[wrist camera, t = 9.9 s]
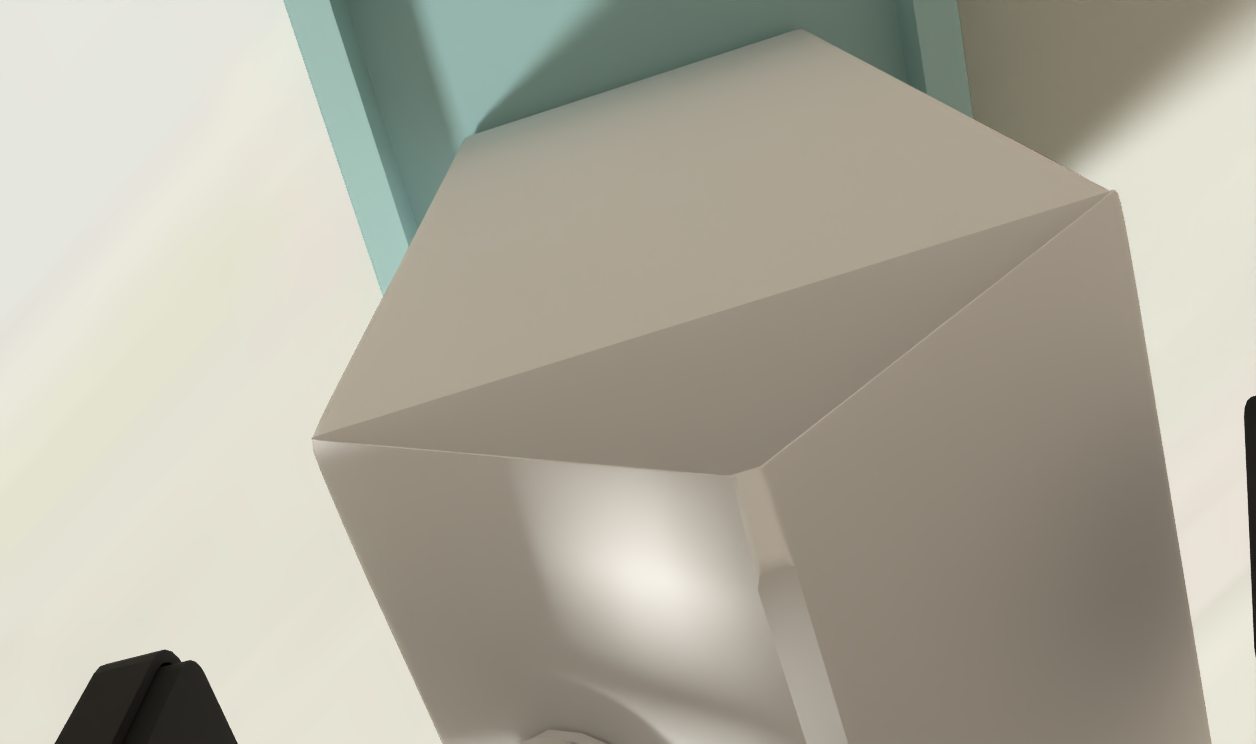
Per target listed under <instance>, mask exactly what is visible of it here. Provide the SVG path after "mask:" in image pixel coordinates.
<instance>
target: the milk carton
mask: <svg viewBox="0 0 1256 744" xmlns="http://www.w3.org/2000/svg"><path fill="white" fill-rule="evenodd" d="M312 442H313V451H314V455H315V457H316V460H317V462H318V465H319V467H320V470H321V472H322V475H323V478H324V480H325V482H326V485H327V487H328V489H329V492H330V494H331V496H332V499H333V501H334V504H335V506H336V508H337V511H338V513H339V515H340V518H341V520H342V522H343V525H344V527H345V529H346V531H347V534H348V536H349V538H350V541H351V543H352V545H353V547H354V550H355V552H356V554H357V556H358V559H359V561H360V563H361V566H362V568H363V570H364V572H365V575H366V577H367V579H368V581H369V584H370V586H371V588H372V590H373V592H374V594H375V597H376V599H377V601H378V603H379V605H380V607H381V610H382V612H383V614H384V616H385V618H386V621H387V623H388V625H389V627H390V629H391V631H392V634H393V636H394V638H395V640H396V642H397V645H398V647H399V649H400V651H401V653H402V655H403V658H404V660H405V662H406V664H407V666H408V669H409V671H410V673H411V675H412V677H413V680H414V682H415V684H416V686H417V688H418V690H419V693H420V695H421V697H422V699H423V701H424V704H425V706H426V708H427V710H428V712H429V715H430V717H431V719H432V721H433V723H434V726H435V728H436V730H437V732H438V734H439V737H440V739H441V741H442V743H443V744H1211V738H1210V732H1209V725H1208V719H1207V713H1206V707H1205V701H1204V695H1203V689H1202V683H1201V677H1200V671H1199V665H1198V659H1197V653H1196V646H1195V640H1194V634H1193V628H1192V622H1191V616H1190V610H1189V604H1188V598H1187V592H1186V586H1185V580H1184V574H1183V567H1182V561H1181V555H1180V549H1179V543H1178V537H1177V531H1176V525H1175V519H1174V513H1173V507H1172V501H1171V495H1170V488H1169V482H1168V476H1167V470H1166V464H1165V458H1164V452H1163V446H1162V440H1161V434H1160V428H1159V422H1158V416H1157V409H1156V403H1155V397H1154V391H1153V385H1152V379H1151V373H1150V367H1149V361H1148V355H1147V349H1146V343H1145V337H1144V330H1143V324H1142V318H1141V312H1140V306H1139V300H1138V294H1137V288H1136V283H1135V277H1134V271H1133V265H1132V259H1131V254H1130V248H1129V243H1128V237H1127V232H1126V226H1125V221H1124V217H1123V212H1122V207H1121V202H1120V199H1119V196H1118V194H1117V192H1116V191H1115V190H1111V191H1109V190H1107V189H1105V188H1103V187H1101V186H1100V185H1098V184H1096V183H1094V182H1092V181H1090V180H1088V179H1086V178H1084V177H1082V176H1081V175H1079V174H1077V173H1075V172H1073V171H1071V170H1069V169H1067V168H1065V167H1063V166H1062V165H1060V164H1058V163H1056V162H1054V161H1052V160H1050V159H1048V158H1046V157H1044V156H1043V155H1041V154H1039V153H1037V152H1035V151H1033V150H1031V149H1029V148H1027V147H1025V146H1024V145H1022V144H1020V143H1018V142H1016V141H1014V140H1012V139H1010V138H1008V137H1006V136H1005V135H1003V134H1001V133H999V132H997V131H995V130H993V129H991V128H989V127H987V126H986V125H984V124H982V123H980V122H978V121H976V120H974V119H972V118H970V117H969V116H967V115H965V114H963V113H961V112H959V111H957V110H955V109H953V108H951V107H950V106H948V105H946V104H944V103H942V102H940V101H938V100H936V99H934V98H932V97H931V96H929V95H927V94H925V93H923V92H921V91H919V90H917V89H915V88H913V87H912V86H910V85H908V84H906V83H904V82H902V81H900V80H898V79H896V78H894V77H893V76H891V75H889V74H887V73H885V72H883V71H881V70H879V69H877V68H875V67H874V66H872V65H870V64H868V63H866V62H864V61H862V60H860V59H858V58H856V57H855V56H853V55H851V54H849V53H847V52H845V51H843V50H841V49H839V48H837V47H836V46H834V45H832V44H830V43H828V42H826V41H824V40H822V39H820V38H819V37H817V36H815V35H813V34H811V33H809V32H807V31H805V30H803V29H797V30H793V31H790V32H787V33H784V34H781V35H778V36H775V37H772V38H769V39H766V40H763V41H760V42H756V43H753V44H750V45H747V46H744V47H741V48H738V49H735V50H732V51H729V52H726V53H723V54H720V55H717V56H713V57H710V58H707V59H704V60H701V61H698V62H695V63H692V64H689V65H686V66H683V67H680V68H677V69H673V70H670V71H667V72H664V73H661V74H658V75H655V76H652V77H649V78H646V79H643V80H640V81H637V82H633V83H630V84H627V85H624V86H621V87H618V88H615V89H612V90H609V91H606V92H603V93H600V94H597V95H594V96H590V97H587V98H584V99H581V100H578V101H575V102H572V103H569V104H566V105H563V106H560V107H557V108H554V109H550V110H547V111H544V112H541V113H538V114H535V115H532V116H529V117H526V118H523V119H520V120H517V121H514V122H511V123H507V124H504V125H501V126H498V127H495V128H492V129H489V130H486V131H483V132H480V133H477V134H474V135H471V136H468V137H467V138H465V139H464V141H463V143H462V145H461V147H460V149H459V151H458V152H457V154H456V156H455V158H454V160H453V162H452V164H451V166H450V168H449V170H448V172H447V174H446V176H445V178H444V180H443V182H442V184H441V185H440V187H439V189H438V191H437V193H436V195H435V197H434V199H433V201H432V203H431V205H430V207H429V209H428V211H427V213H426V215H425V216H424V218H423V220H422V222H421V224H420V226H419V228H418V230H417V232H416V234H415V236H414V238H413V240H412V242H411V244H410V246H409V247H408V249H407V251H406V253H405V255H404V257H403V259H402V261H401V263H400V265H399V267H398V269H397V271H396V273H395V275H394V277H393V278H392V280H391V282H390V284H389V286H388V288H387V290H386V292H385V294H384V296H383V298H382V300H381V302H380V304H379V306H378V308H377V310H376V311H375V313H374V315H373V317H372V319H371V321H370V323H369V325H368V327H367V329H366V331H365V333H364V335H363V337H362V339H361V341H360V342H359V344H358V346H357V348H356V350H355V352H354V354H353V356H352V358H351V360H350V362H349V364H348V366H347V368H346V370H345V372H344V373H343V375H342V377H341V379H340V381H339V383H338V385H337V387H336V389H335V391H334V393H333V395H332V397H331V399H330V401H329V403H328V405H327V407H326V409H325V411H324V413H323V415H322V417H321V420H320V422H319V424H318V426H317V429H316V431H315V433H314V436H313V438H312Z"/></svg>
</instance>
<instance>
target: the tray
mask: <svg viewBox="0 0 1256 744" xmlns="http://www.w3.org/2000/svg"><path fill="white" fill-rule="evenodd" d="M284 3H285V6H286V9H287V12H288V15H289V18H290V21H291V24H292V27H293V30H294V33H295V36H296V39H297V42H298V45H299V48H300V51H301V54H302V57H303V60H304V63H305V66H306V69H307V72H308V75H309V78H310V81H311V84H312V87H313V90H314V93H315V96H316V99H317V101H318V104H319V107H320V110H321V113H322V116H323V119H324V122H325V125H326V128H327V131H328V134H329V137H330V140H331V143H332V146H333V149H334V152H335V155H336V158H337V161H338V164H339V167H340V170H341V173H342V176H343V179H344V182H345V185H346V188H347V191H348V194H349V197H350V200H351V203H352V206H353V209H354V211H355V214H356V217H357V220H358V223H359V226H360V229H361V232H362V235H363V238H364V241H365V244H366V247H367V250H368V253H369V256H370V259H371V262H372V265H373V268H374V271H375V274H376V277H377V280H378V283H379V286H380V289H381V292H382V295H383V296H384V294H385V292H386V290H387V288H388V286H389V284H390V282H391V280H392V278H393V277H394V275H395V273H396V271H397V269H398V267H399V265H400V263H401V261H402V259H403V257H404V255H405V253H406V251H407V249H408V247H409V246H410V244H411V242H412V240H413V238H414V236H415V234H416V232H417V230H418V228H419V226H420V224H421V222H422V220H423V218H424V216H425V215H426V213H427V211H428V209H429V207H430V205H431V203H432V201H433V199H434V197H435V195H436V193H437V191H438V189H439V187H440V185H441V184H442V182H443V180H444V178H445V176H446V174H447V172H448V170H449V168H450V166H451V164H452V162H453V160H454V158H455V156H456V154H457V152H458V151H459V149H460V147H461V145H462V143H463V141H464V139H465V138H467V137H468V136H471V135H474V134H477V133H480V132H483V131H486V130H489V129H492V128H495V127H498V126H501V125H504V124H507V123H511V122H514V121H517V120H520V119H523V118H526V117H529V116H532V115H535V114H538V113H541V112H544V111H547V110H550V109H554V108H557V107H560V106H563V105H566V104H569V103H572V102H575V101H578V100H581V99H584V98H587V97H590V96H594V95H597V94H600V93H603V92H606V91H609V90H612V89H615V88H618V87H621V86H624V85H627V84H630V83H633V82H637V81H640V80H643V79H646V78H649V77H652V76H655V75H658V74H661V73H664V72H667V71H670V70H673V69H677V68H680V67H683V66H686V65H689V64H692V63H695V62H698V61H701V60H704V59H707V58H710V57H713V56H717V55H720V54H723V53H726V52H729V51H732V50H735V49H738V48H741V47H744V46H747V45H750V44H753V43H756V42H760V41H763V40H766V39H769V38H772V37H775V36H778V35H781V34H784V33H787V32H790V31H793V30H797V29H803V30H805V31H807V32H809V33H811V34H813V35H815V36H817V37H819V38H820V39H822V40H824V41H826V42H828V43H830V44H832V45H834V46H836V47H837V48H839V49H841V50H843V51H845V52H847V53H849V54H851V55H853V56H855V57H856V58H858V59H860V60H862V61H864V62H866V63H868V64H870V65H872V66H874V67H875V68H877V69H879V70H881V71H883V72H885V73H887V74H889V75H891V76H893V77H894V78H896V79H898V80H900V81H902V82H904V83H906V84H908V85H910V86H912V87H913V88H915V89H917V90H919V91H921V92H923V93H925V94H927V95H929V96H931V97H932V98H934V99H936V100H938V101H940V102H942V103H944V104H946V105H948V106H950V107H951V108H953V109H955V110H957V111H959V112H961V113H963V114H965V115H967V116H969V117H970V118H972V119H973V112H972V104H971V97H970V90H969V83H968V76H967V68H966V61H965V54H964V47H963V40H962V32H961V25H960V18H959V11H958V4H957V0H284Z"/></svg>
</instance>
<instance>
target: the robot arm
mask: <svg viewBox="0 0 1256 744" xmlns="http://www.w3.org/2000/svg"><path fill="white" fill-rule="evenodd" d="M1244 425H1245V447H1246V470H1247V492H1248V515H1249V537H1250V560H1251V583H1252V605H1253V628H1254V648H1255V655H1256V396H1253V397H1251V398H1250V399H1249V400H1248V401H1247V403H1246V406H1245V411H1244ZM55 744H238V743H237V741H236V739H235V737H234V735H233V733H232V731H231V729H230V726H229V724H228V722H227V720H226V718H225V716H224V714H223V712H222V709H221V707H220V705H219V703H218V701H217V699H216V697H215V695H214V692H213V690H212V688H211V686H210V684H209V682H208V680H207V677H206V675H205V673H204V672H203V670H202V668H201V667H200V666H199V665H198V664H197V663H196V662H195V661H191V660H189V661H185V662H181V661H180V659H179V658H178V657H177V656H176V655H175V654H174V653H173V652H171V651H168V650H161V651H157V652H153V653H149V654H145V655H141V656H137V657H133V658H129V659H125V660H121V661H117V662H113V663H109V664H106V665H103V666H100V667H99V668H98V669H97V671H96V672H95V673H94V674H93V676H92V678H91V680H90V681H89V683H88V685H87V687H86V689H85V690H84V692H83V694H82V696H81V698H80V699H79V701H78V703H77V705H76V706H75V708H74V710H73V712H72V714H71V715H70V717H69V719H68V721H67V723H66V724H65V726H64V728H63V730H62V731H61V733H60V735H59V737H58V739H57V740H56V742H55Z"/></svg>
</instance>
